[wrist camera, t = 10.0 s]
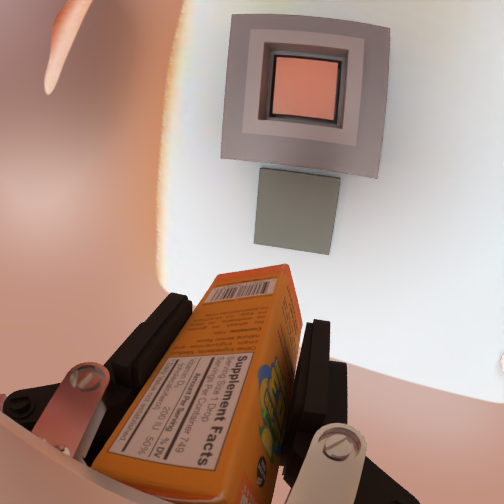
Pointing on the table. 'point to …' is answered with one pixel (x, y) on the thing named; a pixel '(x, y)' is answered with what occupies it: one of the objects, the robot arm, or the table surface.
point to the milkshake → (502, 362)
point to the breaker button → (305, 88)
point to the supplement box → (216, 398)
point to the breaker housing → (297, 128)
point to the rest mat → (296, 210)
